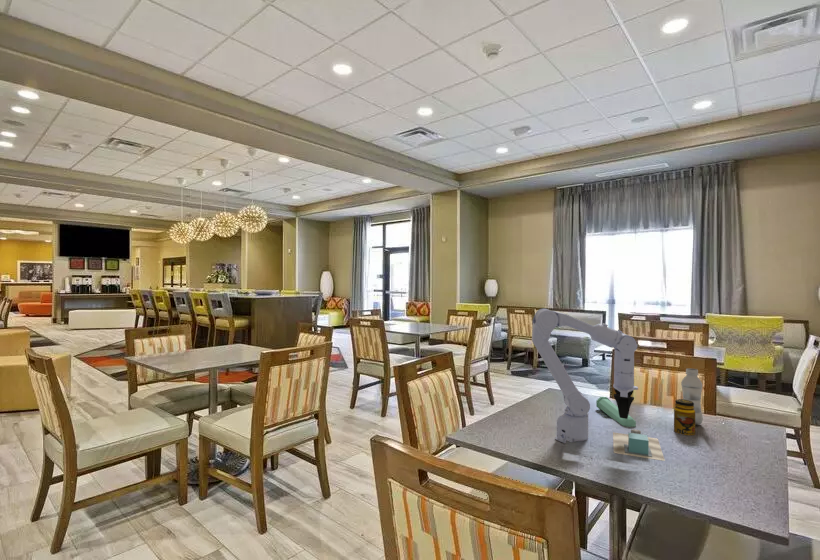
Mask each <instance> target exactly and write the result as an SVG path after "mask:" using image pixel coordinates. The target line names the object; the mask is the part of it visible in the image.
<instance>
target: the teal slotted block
mask: <svg viewBox="0 0 820 560" xmlns="http://www.w3.org/2000/svg"><path fill="white" fill-rule="evenodd" d="M627 434H628V448H629V452H635V453H641V454H648V450H649V441H648V437H649V436H648V435H647V434H642V433H641V434H635V433H631V432H628V433H627Z"/></svg>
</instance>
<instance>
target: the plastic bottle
mask: <svg viewBox="0 0 820 560" xmlns="http://www.w3.org/2000/svg"><path fill="white" fill-rule="evenodd" d="M684 376H685V377H684V378H682V380H681V390H682V399H685V400H690V401H692V402H693V403H694V410H695V426H700V425H702V423H703V422H704V421H703V420H704V419H703V418H704V416H703V414H702V405H701V403H702V402H701V399H702V392H703V386H704V385H703V383H702V381H701V379H700V378H699V377H698V376H699V370H698V368H686V369H685V375H684Z"/></svg>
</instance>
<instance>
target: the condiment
mask: <svg viewBox="0 0 820 560" xmlns="http://www.w3.org/2000/svg"><path fill="white" fill-rule="evenodd" d="M674 402H675V403H674V408H673V432H675V433H676V434H680V435H684V436H695V435H696V425H695V410H694V403H693V402H692V401H690V400H685V399H683V398H682V399H681V398H678V399H675V401H674Z"/></svg>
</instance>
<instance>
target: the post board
mask: <svg viewBox="0 0 820 560" xmlns="http://www.w3.org/2000/svg"><path fill="white" fill-rule="evenodd" d="M630 433H635V434H642V431H641V430H640V429H634V428H633V429H630ZM647 437H648V441H649V450H648V454H641V453H635V452H629V448H628V433H620V432H614V431H613V432H612V445H613V454H619V455H624V456H632V457H637V458H642V459H643V458H644V459H649V460H656V461H664V462H665V461H666V459H665V457H664V454H663V451H662V448H661V444H660V441H659V439H658V438H656V437H650V436H647Z"/></svg>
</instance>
